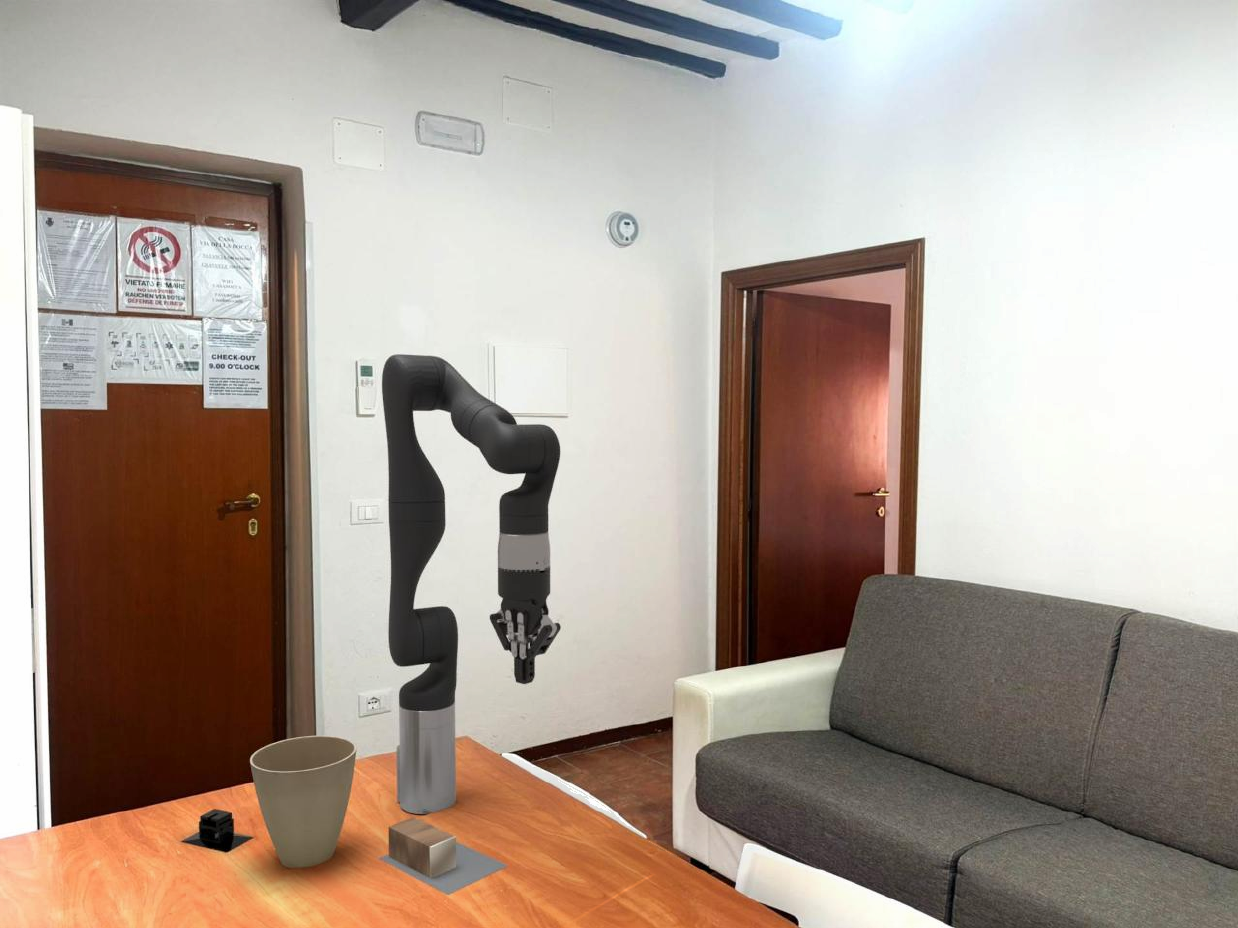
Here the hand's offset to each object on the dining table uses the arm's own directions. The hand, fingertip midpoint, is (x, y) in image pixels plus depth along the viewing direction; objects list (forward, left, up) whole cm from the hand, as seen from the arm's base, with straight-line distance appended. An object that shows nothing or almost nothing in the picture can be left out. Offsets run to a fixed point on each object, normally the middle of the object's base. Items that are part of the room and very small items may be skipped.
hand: (524, 682), depth 138 cm
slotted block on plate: (-42, -26, -28) cm, 56 cm away
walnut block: (-6, -10, -24) cm, 27 cm away
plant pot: (-26, -20, -27) cm, 43 cm away
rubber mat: (-9, -8, -27) cm, 30 cm away
